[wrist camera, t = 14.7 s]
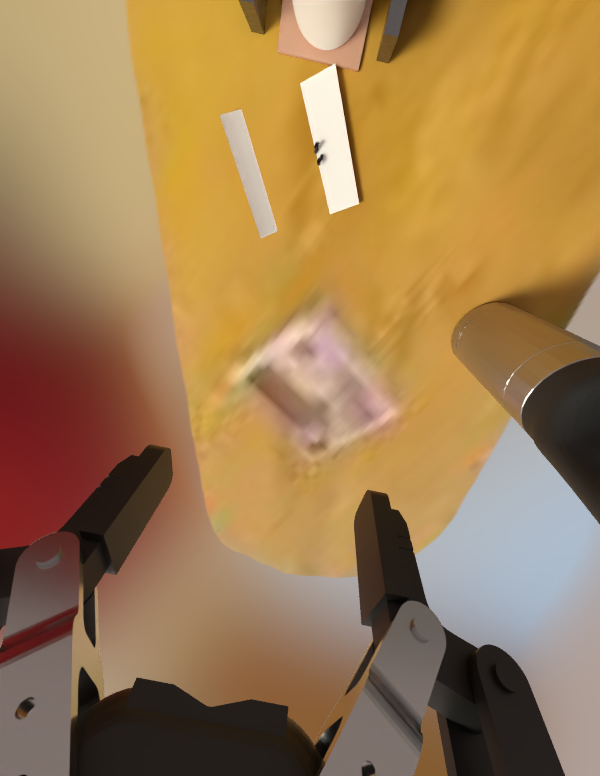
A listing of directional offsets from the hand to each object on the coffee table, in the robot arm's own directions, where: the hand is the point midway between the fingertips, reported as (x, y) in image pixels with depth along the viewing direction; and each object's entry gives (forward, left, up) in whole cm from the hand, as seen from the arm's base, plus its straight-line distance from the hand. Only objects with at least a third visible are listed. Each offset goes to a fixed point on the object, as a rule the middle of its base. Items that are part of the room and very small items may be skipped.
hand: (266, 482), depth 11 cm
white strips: (+5, -14, -33) cm, 36 cm away
